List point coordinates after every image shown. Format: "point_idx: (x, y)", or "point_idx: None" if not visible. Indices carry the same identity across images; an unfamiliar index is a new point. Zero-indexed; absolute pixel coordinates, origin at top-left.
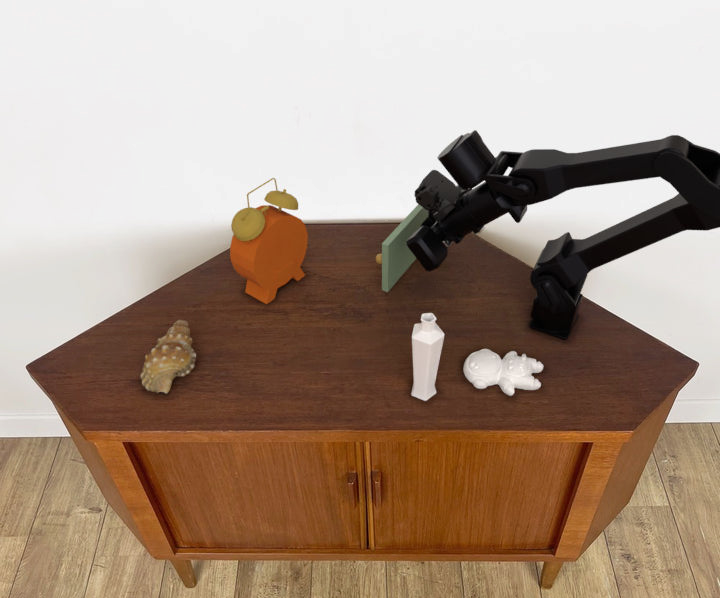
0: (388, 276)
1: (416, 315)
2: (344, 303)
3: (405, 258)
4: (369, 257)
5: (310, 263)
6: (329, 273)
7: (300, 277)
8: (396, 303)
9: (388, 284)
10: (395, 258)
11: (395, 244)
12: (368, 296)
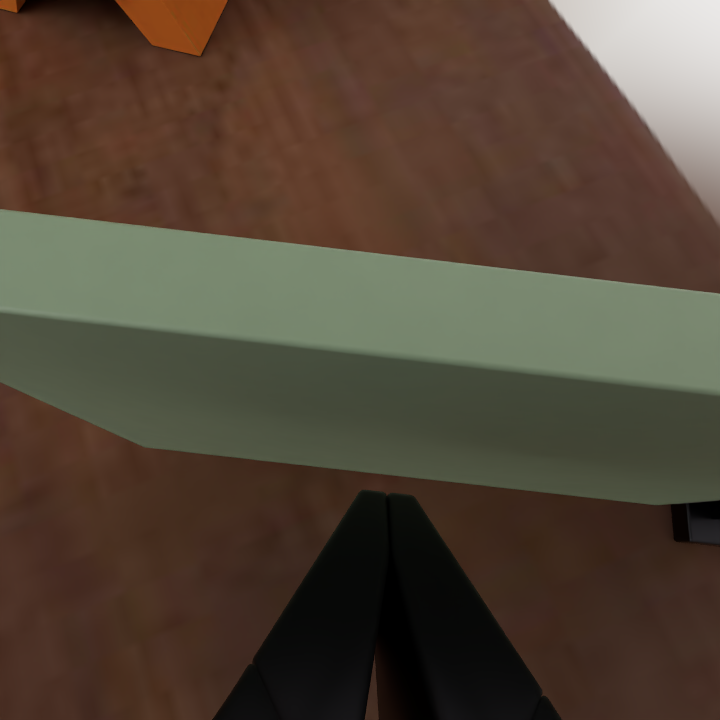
0: (97, 423)
1: (26, 693)
2: None
3: (372, 457)
4: (438, 246)
5: (288, 47)
6: (249, 133)
7: (167, 42)
8: (112, 522)
9: (129, 437)
10: (179, 414)
11: (103, 361)
12: None
